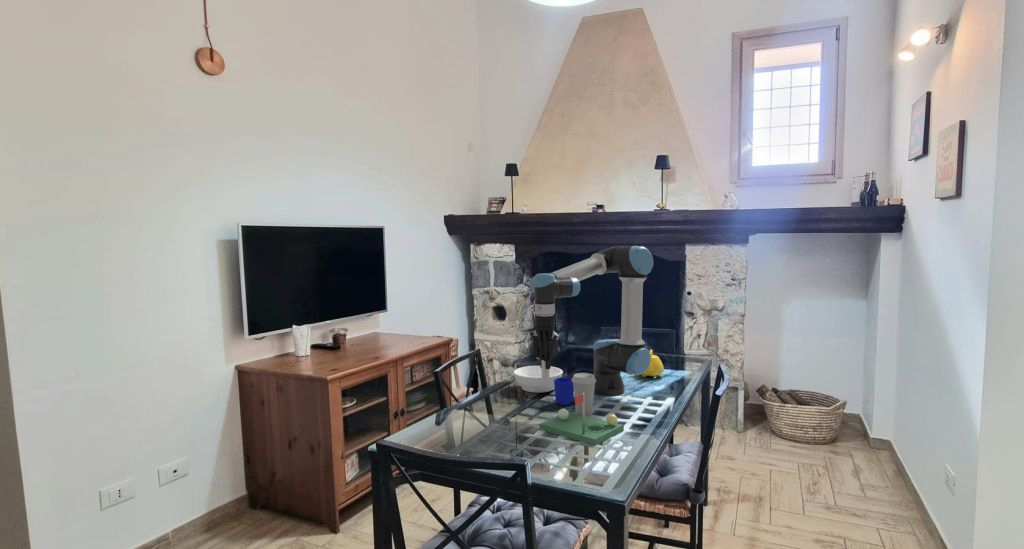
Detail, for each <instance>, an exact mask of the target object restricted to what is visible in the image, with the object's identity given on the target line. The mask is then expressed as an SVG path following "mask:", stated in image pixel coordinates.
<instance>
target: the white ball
mask: <svg viewBox="0 0 1024 549" xmlns="http://www.w3.org/2000/svg"><path fill="white" fill-rule="evenodd" d="M568 412H569V411H568V410H567V409H566V408H560V409H559V410H558V412H557V416H558V417H559V418H560V419H561V420H566V419H567V418H568V416H569V413H568Z"/></svg>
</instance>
